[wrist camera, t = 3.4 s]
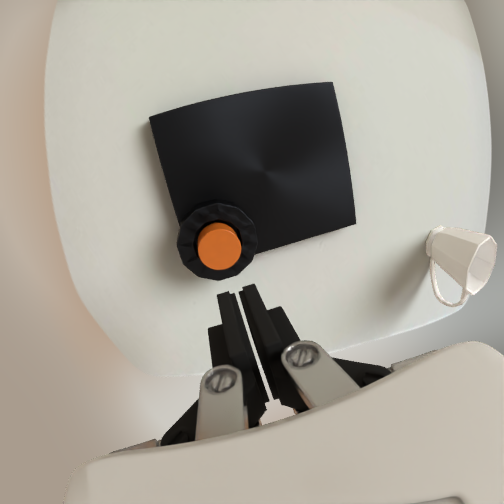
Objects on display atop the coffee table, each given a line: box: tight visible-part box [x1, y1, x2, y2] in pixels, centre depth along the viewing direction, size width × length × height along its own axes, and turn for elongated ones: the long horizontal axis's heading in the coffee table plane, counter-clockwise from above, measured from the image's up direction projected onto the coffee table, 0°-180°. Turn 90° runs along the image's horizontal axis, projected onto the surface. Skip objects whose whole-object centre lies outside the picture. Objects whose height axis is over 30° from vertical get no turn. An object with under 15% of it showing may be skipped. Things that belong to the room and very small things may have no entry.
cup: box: [426, 225, 497, 307], centre depth 26 cm, size 7×10×8 cm
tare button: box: [197, 223, 241, 270], centre depth 20 cm, size 3×3×2 cm
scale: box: [149, 82, 356, 281], centre depth 21 cm, size 15×13×3 cm
